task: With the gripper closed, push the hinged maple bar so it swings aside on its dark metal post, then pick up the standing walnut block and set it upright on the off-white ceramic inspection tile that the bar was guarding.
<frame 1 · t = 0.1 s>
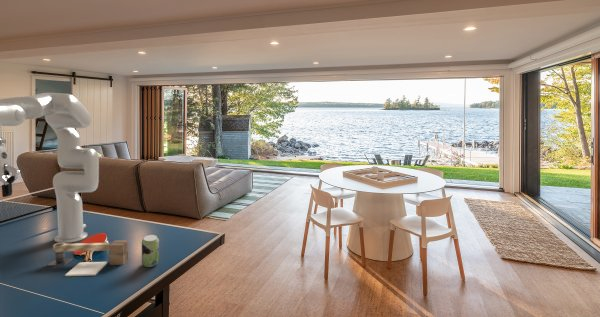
inspection tile: (87, 269, 123), on the table
pivot plate: (60, 262, 128), on the table
beverage can: (150, 265, 128), on the table
walnut block: (119, 261, 130), on the table
swing arm: (82, 252, 128), point 4 cm above the table, hinge at 0.0°
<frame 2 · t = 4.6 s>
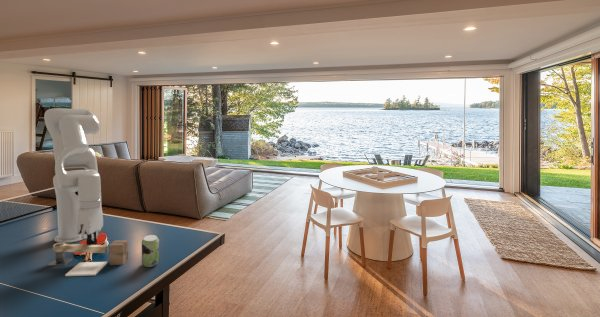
hand: (92, 248, 130), 5 cm above the table, fingers closed
swing arm: (80, 253, 127), point 4 cm above the table, hinge at 8.2°, touching gripper
everything else where it was.
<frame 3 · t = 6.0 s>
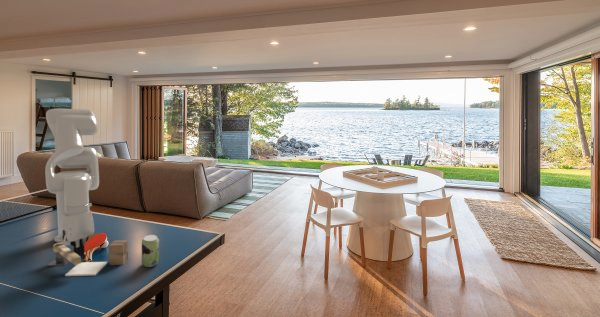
hand: (79, 255, 123), 5 cm above the table, fingers closed
swing arm: (67, 258, 122), point 4 cm above the table, hinge at 45.2°, touching gripper
everything else where it was.
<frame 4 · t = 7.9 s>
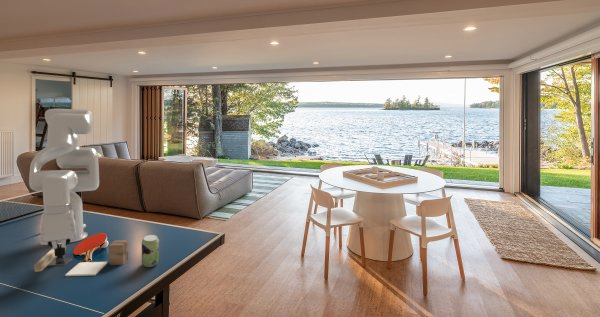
hand: (60, 257, 119), 6 cm above the table, fingers closed
swing arm: (51, 261, 120), point 4 cm above the table, hinge at 81.1°
everything else where it was.
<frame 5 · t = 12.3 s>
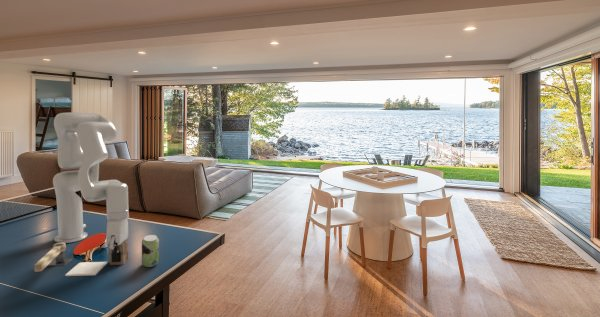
hand: (119, 258, 130), 1 cm above the table, fingers closed on walnut block, 5 cm apart
walnut block: (119, 261, 130), on the table, touching gripper
everything else where it was.
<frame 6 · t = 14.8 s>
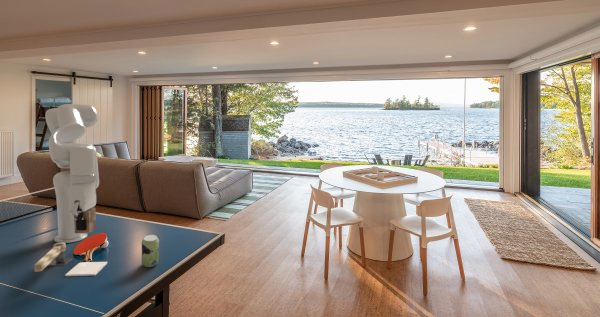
hand: (85, 226, 121), 17 cm above the table, fingers closed on walnut block, 5 cm apart
walnut block: (85, 230, 121), point 15 cm above the table, touching gripper
everything else where it was.
when the fingers open (3 cm above the table, at t = 17.5 s): walnut block stays where it is, resting on inspection tile.
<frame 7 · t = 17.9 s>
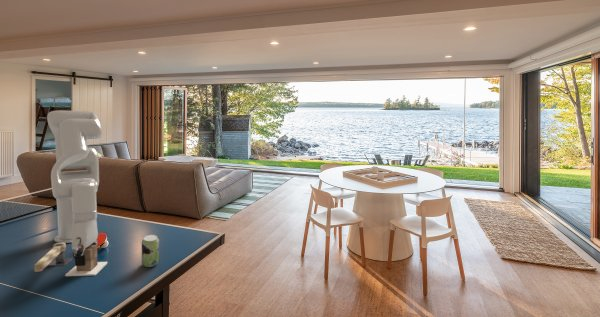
hand: (86, 259, 122), 4 cm above the table, fingers open, 8 cm apart
walnut block: (87, 267, 123), point 1 cm above the table, touching inspection tile
everything else where it was.
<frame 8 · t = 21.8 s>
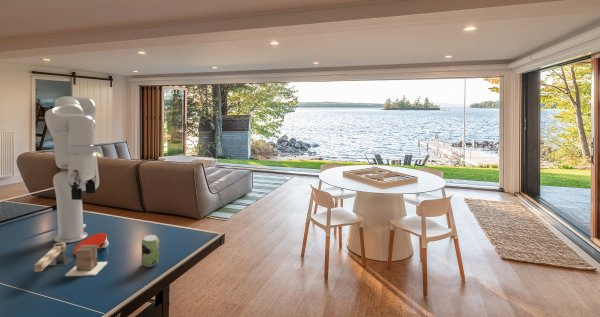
hand: (84, 196, 119), 28 cm above the table, fingers open, 9 cm apart
nothing on the table moved.
at the end: swing arm at +81° (first picture: +0°); walnut block inside the target area on the inspection tile (0.0 cm from its centre), point 0.6 cm above the inspection tile's base; walnut block tilted 0° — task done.
